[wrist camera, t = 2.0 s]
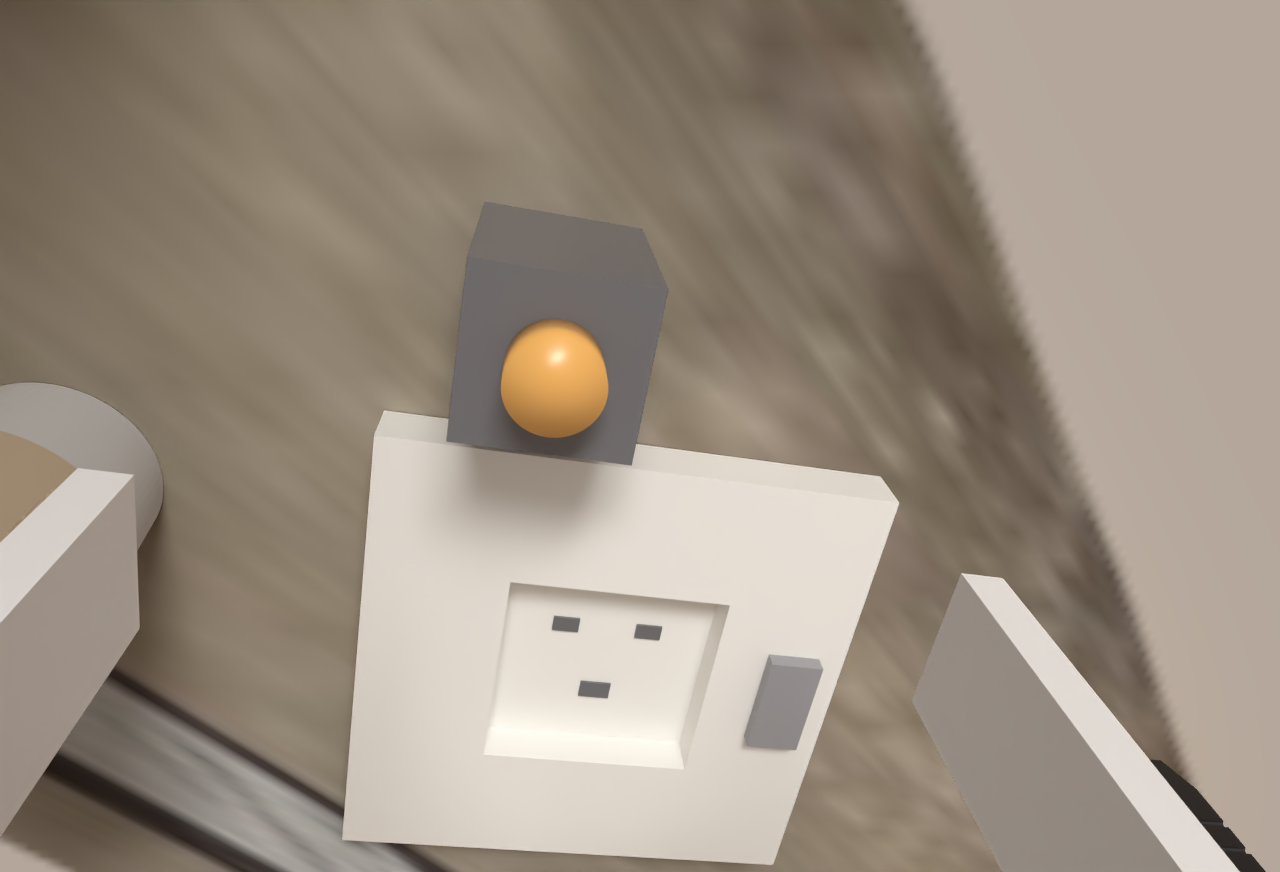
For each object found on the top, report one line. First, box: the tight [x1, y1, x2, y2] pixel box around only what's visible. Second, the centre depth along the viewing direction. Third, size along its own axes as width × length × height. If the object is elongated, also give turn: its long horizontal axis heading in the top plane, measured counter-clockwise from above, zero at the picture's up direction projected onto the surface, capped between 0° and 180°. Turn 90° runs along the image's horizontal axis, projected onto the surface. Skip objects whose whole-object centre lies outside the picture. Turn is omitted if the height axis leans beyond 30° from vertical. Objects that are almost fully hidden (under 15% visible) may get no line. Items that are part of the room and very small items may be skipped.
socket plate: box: [342, 410, 899, 865], centre depth 35 cm, size 18×18×3 cm
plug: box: [446, 202, 668, 466], centre depth 26 cm, size 5×5×8 cm
